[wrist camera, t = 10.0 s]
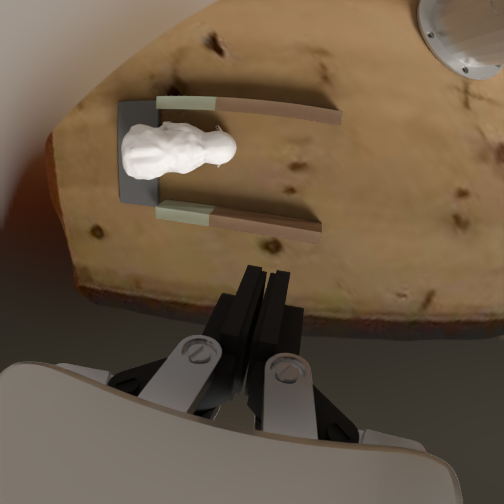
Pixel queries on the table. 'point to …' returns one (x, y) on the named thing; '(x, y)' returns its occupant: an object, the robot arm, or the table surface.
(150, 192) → the mat
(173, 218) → the parallel bars
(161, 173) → the white figurine
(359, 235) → the table surface
